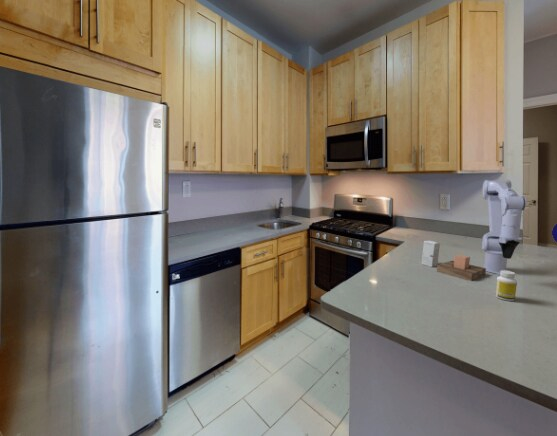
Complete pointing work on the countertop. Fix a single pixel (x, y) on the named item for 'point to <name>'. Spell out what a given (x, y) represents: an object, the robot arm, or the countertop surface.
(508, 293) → the supplement bottle
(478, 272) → the walnut socket block
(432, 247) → the skincare box
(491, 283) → the countertop surface
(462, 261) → the terracotta peg
